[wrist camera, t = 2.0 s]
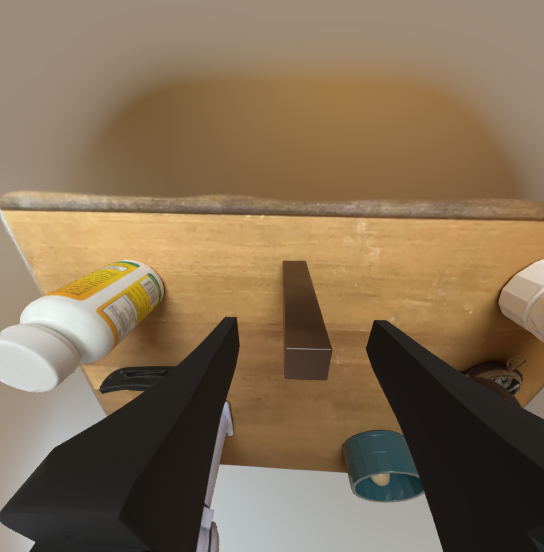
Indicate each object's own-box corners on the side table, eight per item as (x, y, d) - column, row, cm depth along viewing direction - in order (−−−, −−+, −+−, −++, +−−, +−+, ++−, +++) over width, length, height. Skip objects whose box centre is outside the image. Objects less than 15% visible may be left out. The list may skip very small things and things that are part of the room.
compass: (491, 398, 24) (569, 479, 18) (430, 389, 24) (486, 467, 17) (542, 353, 21) (663, 433, 14) (471, 341, 20) (561, 417, 14)
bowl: (338, 461, 33) (346, 500, 29) (348, 428, 28) (359, 469, 24) (398, 464, 33) (415, 504, 28) (418, 431, 28) (441, 474, 24)
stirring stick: (282, 280, 18) (284, 379, 9) (283, 260, 17) (285, 348, 8) (304, 280, 18) (327, 381, 9) (305, 260, 17) (333, 349, 8)
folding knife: (118, 372, 25) (98, 395, 22) (113, 365, 24) (92, 388, 22) (191, 370, 24) (180, 394, 22) (188, 363, 24) (176, 386, 21)
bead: (362, 462, 32) (370, 488, 29) (366, 453, 30) (374, 480, 28) (381, 463, 31) (390, 490, 29) (386, 454, 30) (396, 481, 27)
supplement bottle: (176, 283, 19) (86, 372, 10) (149, 315, 21) (54, 412, 12) (123, 245, 17) (-34, 311, 9) (100, 282, 19) (-49, 368, 10)
